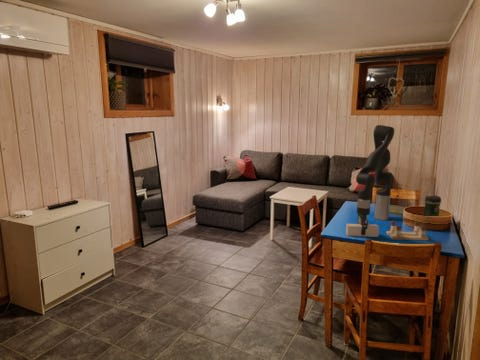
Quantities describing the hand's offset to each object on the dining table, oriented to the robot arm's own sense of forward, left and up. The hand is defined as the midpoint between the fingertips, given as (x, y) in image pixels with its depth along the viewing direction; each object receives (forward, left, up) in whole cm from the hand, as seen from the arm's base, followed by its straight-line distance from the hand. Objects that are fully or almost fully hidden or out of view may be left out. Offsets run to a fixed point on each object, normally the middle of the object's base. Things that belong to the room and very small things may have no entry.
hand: (361, 233), depth 207 cm
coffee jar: (-28, +54, -1) cm, 61 cm away
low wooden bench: (+2, +26, -1) cm, 26 cm away
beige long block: (0, 0, -1) cm, 1 cm away
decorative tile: (-54, +42, -2) cm, 69 cm away
